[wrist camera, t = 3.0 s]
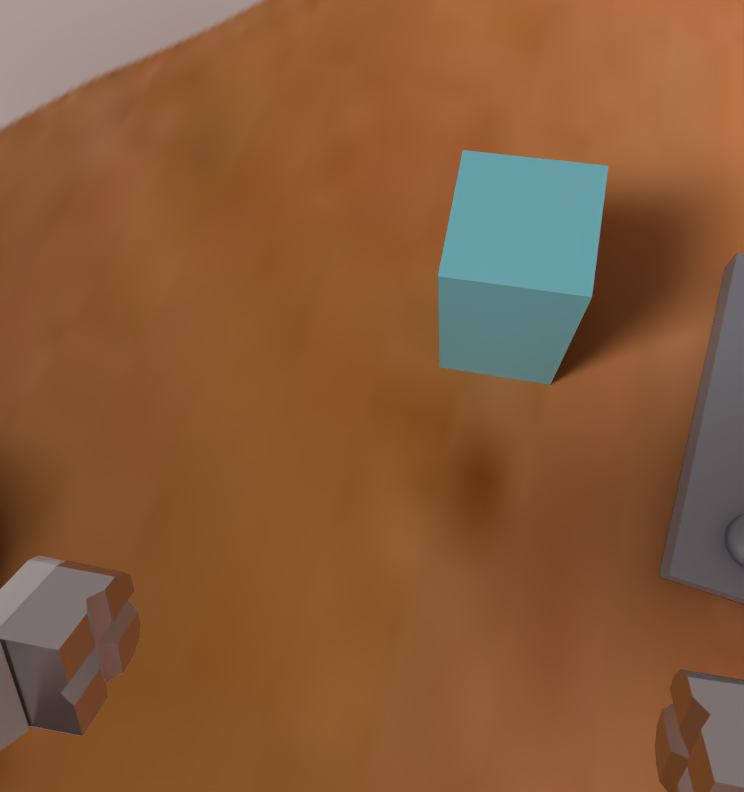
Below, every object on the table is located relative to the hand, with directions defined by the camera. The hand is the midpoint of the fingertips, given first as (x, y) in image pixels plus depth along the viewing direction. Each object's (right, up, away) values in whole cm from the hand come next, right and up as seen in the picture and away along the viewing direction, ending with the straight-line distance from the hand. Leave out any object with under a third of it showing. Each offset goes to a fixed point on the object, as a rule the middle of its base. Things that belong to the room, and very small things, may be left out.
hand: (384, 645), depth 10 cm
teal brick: (+5, +7, +18) cm, 20 cm away
